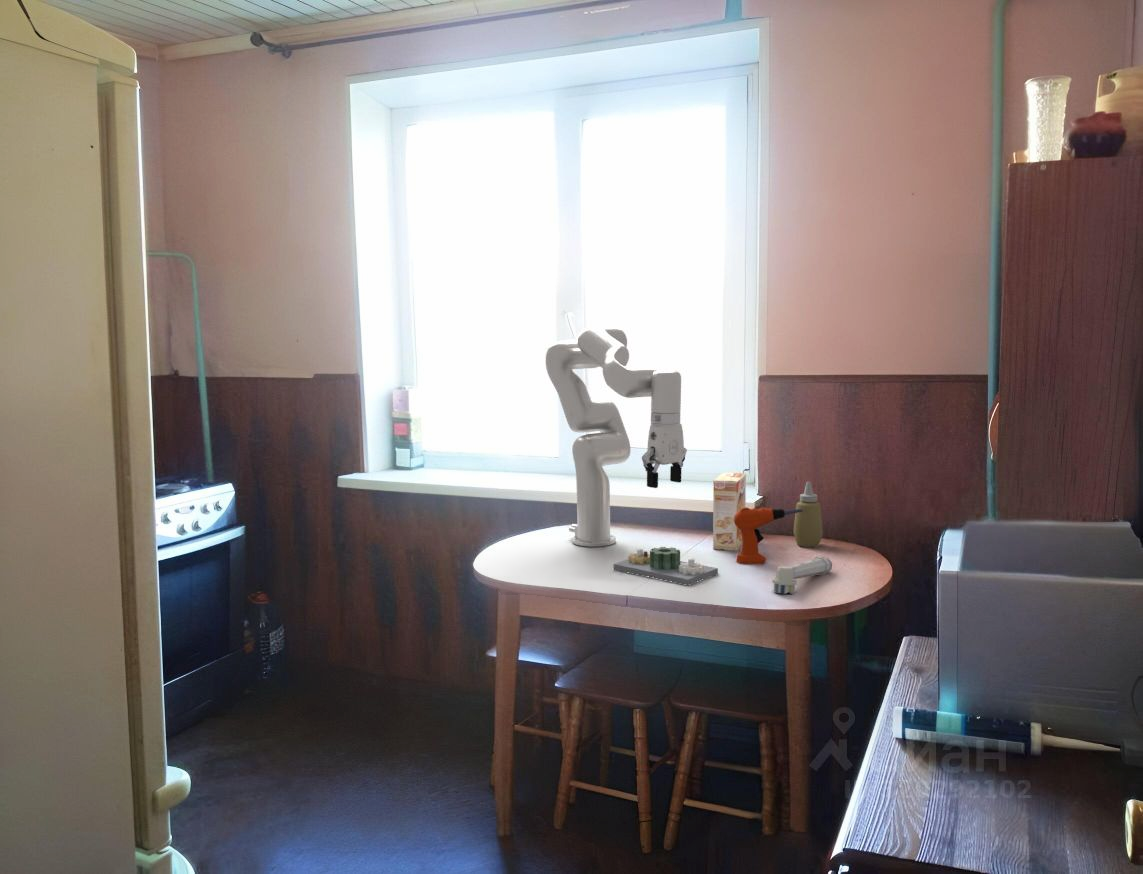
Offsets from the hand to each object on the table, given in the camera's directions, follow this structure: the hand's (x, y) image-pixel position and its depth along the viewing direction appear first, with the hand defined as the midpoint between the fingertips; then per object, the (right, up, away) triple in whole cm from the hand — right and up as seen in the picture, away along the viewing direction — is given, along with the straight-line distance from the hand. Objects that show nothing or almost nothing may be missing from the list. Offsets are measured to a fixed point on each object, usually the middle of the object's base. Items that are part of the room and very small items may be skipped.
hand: (664, 484), depth 229 cm
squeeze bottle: (+42, -18, +19) cm, 50 cm away
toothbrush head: (+32, -23, -16) cm, 42 cm away
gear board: (0, -22, -5) cm, 22 cm away
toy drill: (+28, -21, +3) cm, 35 cm away
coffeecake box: (+21, -18, +23) cm, 36 cm away
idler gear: (0, -20, -5) cm, 21 cm away
